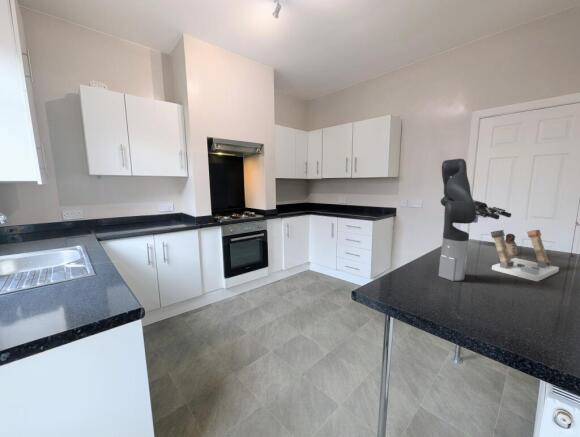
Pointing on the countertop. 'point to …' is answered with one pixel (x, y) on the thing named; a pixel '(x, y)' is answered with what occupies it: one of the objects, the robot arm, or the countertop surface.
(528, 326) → the countertop surface
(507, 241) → the figurine
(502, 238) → the tan wooden post
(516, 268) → the panel
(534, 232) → the brown long rectangular block
